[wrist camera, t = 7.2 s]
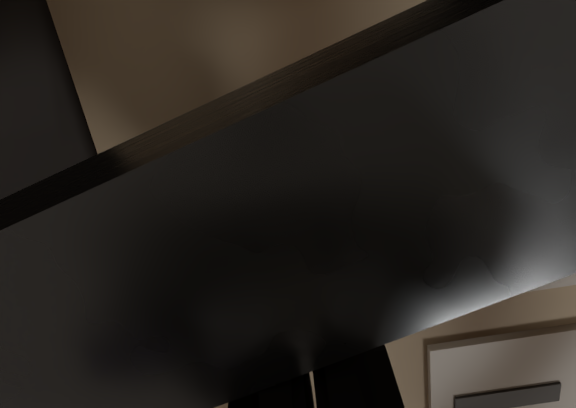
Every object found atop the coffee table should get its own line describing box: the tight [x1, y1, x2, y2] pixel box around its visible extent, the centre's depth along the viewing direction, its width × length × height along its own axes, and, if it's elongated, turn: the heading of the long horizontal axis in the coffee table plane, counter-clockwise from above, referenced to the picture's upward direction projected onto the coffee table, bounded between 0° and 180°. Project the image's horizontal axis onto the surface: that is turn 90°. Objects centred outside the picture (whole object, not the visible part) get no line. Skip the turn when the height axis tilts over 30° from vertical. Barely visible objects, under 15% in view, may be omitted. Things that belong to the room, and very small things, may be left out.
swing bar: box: [0, 0, 576, 408], centre depth 8 cm, size 4×19×2 cm, turn 114°
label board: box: [46, 0, 576, 408], centre depth 14 cm, size 22×19×6 cm
